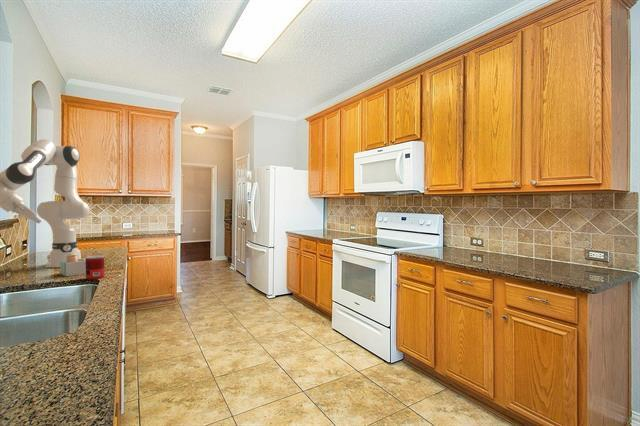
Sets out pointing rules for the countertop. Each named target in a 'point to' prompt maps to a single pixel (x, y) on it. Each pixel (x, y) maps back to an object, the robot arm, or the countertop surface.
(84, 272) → the housing
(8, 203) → the robot arm
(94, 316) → the countertop surface
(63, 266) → the tray
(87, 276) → the canned food
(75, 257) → the jar
